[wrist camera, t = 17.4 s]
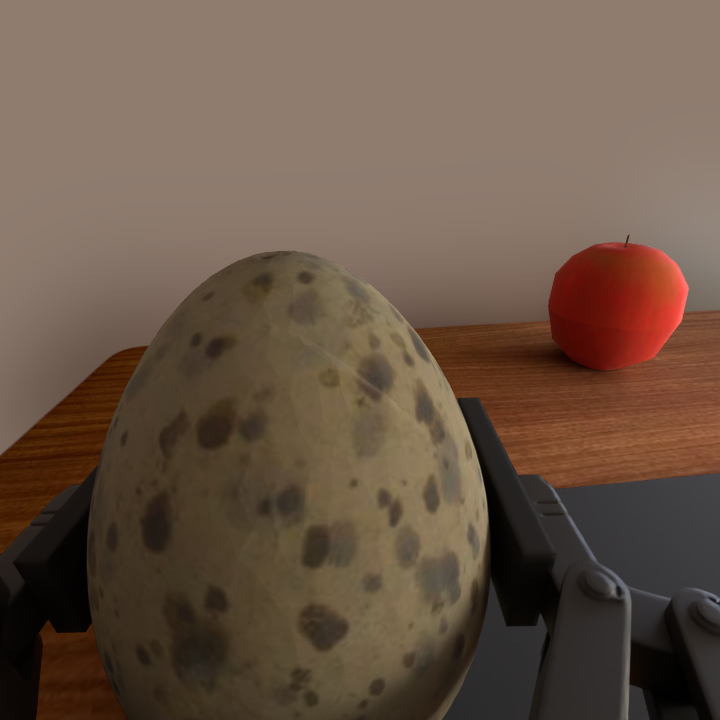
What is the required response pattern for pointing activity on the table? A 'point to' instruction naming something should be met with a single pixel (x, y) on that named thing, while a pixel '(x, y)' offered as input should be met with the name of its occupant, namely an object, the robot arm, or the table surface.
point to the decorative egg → (287, 510)
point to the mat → (622, 556)
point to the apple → (616, 304)
